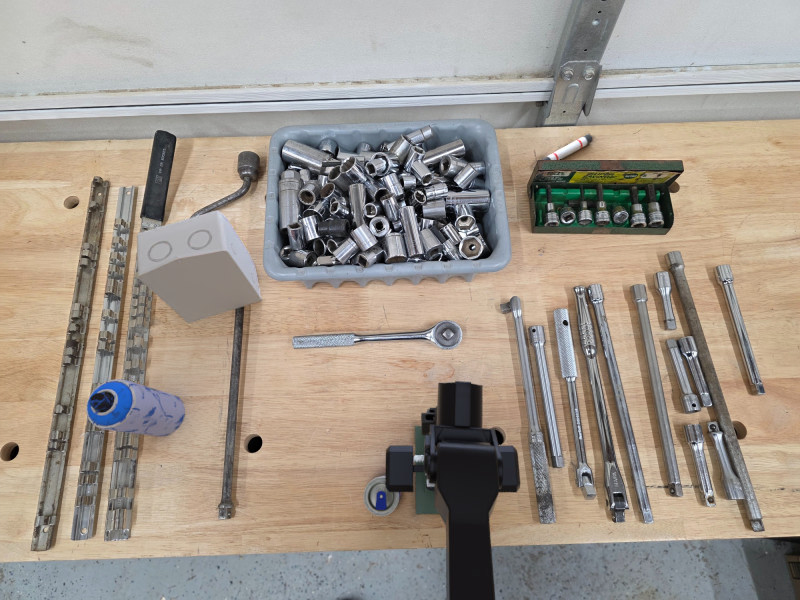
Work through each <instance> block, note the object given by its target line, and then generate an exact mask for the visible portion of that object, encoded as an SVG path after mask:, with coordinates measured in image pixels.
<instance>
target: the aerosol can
mask: <svg viewBox="0 0 800 600" xmlns="http://www.w3.org/2000/svg"><path fill="white" fill-rule="evenodd" d="M85 413H86V417H87V419H88V420H89V422H90V423H91V424H92V425H93V426H94V427H96V428H98V429H100V430H104V431H105V430H106V431H110V432H111V431H112V432H119V433H126V434H127V433H129V434H136V435H145V436H152V437H159V438H160V437H166V436H169V435H171V434H174V433H175V432H176V431H177V430H178V429H179V428H180V427H181V425H182V423H183V422H184V419H185V415H186V408H185V404H184V402H183V400H182V399H181V398H180V397H178V396H177V395H175V394H172V393H169V392H166V391H163V390H160V389H156V388H153V387H151V386H146V385H143V384H139V383H137V382H133V381H130V380H127V379H122V378H115V379H109V380H106V381H104V382H102V383H100V384H98V386H96V387H95V388H94V389H93V391H92V392H91V393H90V395H89V397H88V399H87V401H86V407H85Z"/></svg>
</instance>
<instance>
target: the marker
mask: <svg viewBox="0 0 800 600" xmlns="http://www.w3.org/2000/svg"><path fill="white" fill-rule="evenodd" d="M592 142H593V136H592V135H591V134H590V133H587V134H585V135H584V136H582V137H580V138H578V139H576V140H575V141H574V140H573V141H572V142H571V143H569V144H567V145H565V146H563V147H561V148H559V149H557V150H556V151H554V152H553V153H551V154H549V155H546V157H543V158H542V159H541V160H559V161H561V160H562V159H564V158H566V157H568V156H569V155H572V154H573V153H575V152H577V151H579V150H580V149H583V148H584V147H586V146H588V145H589V144H591V143H592ZM560 159H561V160H560ZM535 167H536V166H535ZM535 167H533V168H535Z"/></svg>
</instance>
